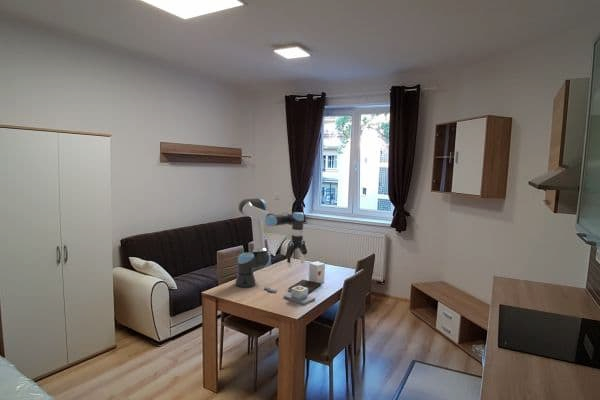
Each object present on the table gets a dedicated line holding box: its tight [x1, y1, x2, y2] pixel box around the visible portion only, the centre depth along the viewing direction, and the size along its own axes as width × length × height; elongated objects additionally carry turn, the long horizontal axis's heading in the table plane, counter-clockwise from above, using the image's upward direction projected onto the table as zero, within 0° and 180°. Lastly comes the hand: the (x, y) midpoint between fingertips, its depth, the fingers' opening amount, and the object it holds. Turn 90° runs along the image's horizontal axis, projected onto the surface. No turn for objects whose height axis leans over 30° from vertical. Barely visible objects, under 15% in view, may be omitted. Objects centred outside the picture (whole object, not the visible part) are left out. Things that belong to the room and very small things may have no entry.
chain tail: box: [263, 286, 278, 294], centre depth 246 cm, size 12×4×1 cm, turn 49°
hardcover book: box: [287, 279, 322, 295], centre depth 255 cm, size 16×23×2 cm
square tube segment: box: [290, 286, 309, 300], centre depth 232 cm, size 8×8×6 cm
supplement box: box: [308, 260, 326, 284], centre depth 268 cm, size 9×9×15 cm
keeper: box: [283, 287, 316, 306], centre depth 232 cm, size 18×12×8 cm, turn 49°
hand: (296, 265), depth 236 cm, fingers open, 13 cm apart
